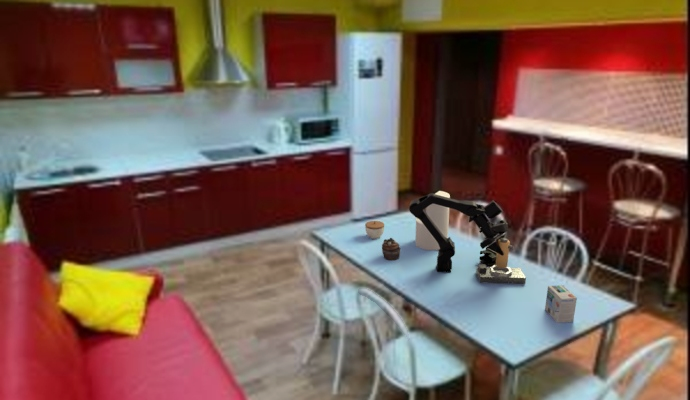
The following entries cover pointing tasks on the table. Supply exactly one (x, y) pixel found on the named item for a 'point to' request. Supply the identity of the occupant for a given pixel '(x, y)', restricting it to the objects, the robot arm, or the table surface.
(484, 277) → the motor base
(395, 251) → the cupcake
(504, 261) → the tan bottle
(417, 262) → the table surface
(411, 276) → the table surface
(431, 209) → the cylinder
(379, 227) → the lidded jar
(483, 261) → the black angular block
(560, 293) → the light bulb box
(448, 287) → the table surface
